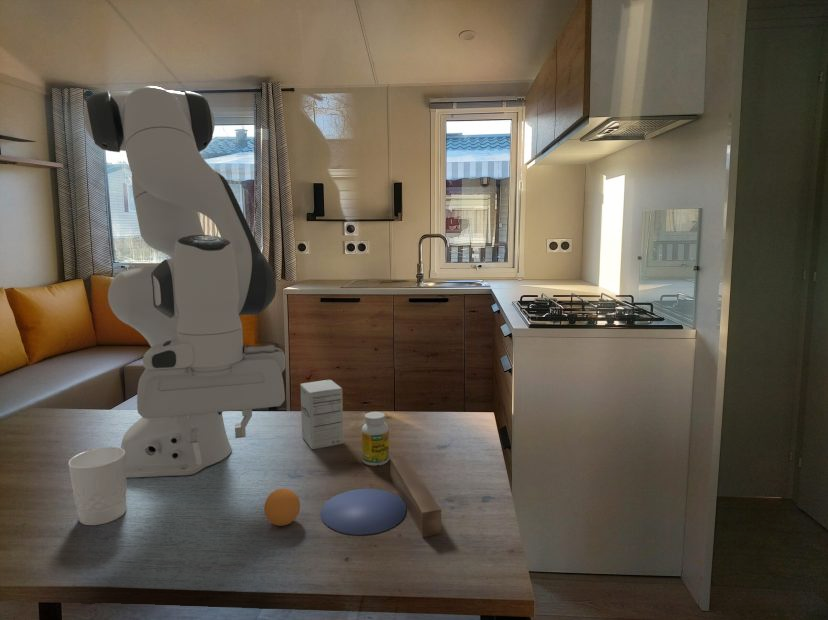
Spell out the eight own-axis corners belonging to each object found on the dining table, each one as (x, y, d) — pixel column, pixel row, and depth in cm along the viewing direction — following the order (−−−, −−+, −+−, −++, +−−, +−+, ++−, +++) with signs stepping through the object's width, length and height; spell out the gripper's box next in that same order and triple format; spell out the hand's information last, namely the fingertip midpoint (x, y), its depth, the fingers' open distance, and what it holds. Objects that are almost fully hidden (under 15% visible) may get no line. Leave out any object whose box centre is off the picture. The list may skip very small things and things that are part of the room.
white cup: (70, 532, 82) (63, 471, 81) (79, 508, 89) (73, 451, 88) (128, 521, 85) (122, 462, 84) (132, 498, 92) (127, 443, 91)
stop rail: (422, 537, 81) (422, 512, 80) (390, 477, 100) (390, 457, 99) (441, 533, 82) (441, 509, 81) (405, 475, 101) (405, 455, 100)
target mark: (326, 541, 80) (326, 540, 80) (316, 496, 93) (316, 495, 93) (416, 526, 84) (416, 525, 84) (394, 485, 97) (394, 484, 97)
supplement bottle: (380, 452, 111) (380, 408, 109) (394, 462, 106) (393, 416, 105) (357, 459, 108) (356, 413, 106) (370, 469, 103) (369, 421, 102)
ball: (265, 535, 81) (263, 501, 81) (264, 516, 87) (263, 484, 86) (302, 529, 83) (300, 496, 82) (299, 511, 88) (298, 480, 87)
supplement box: (301, 438, 119) (299, 382, 117) (333, 432, 122) (332, 378, 120) (310, 450, 112) (308, 392, 110) (344, 443, 115) (343, 387, 113)
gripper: (283, 339, 84) (287, 424, 86) (139, 348, 78) (147, 438, 80) (286, 348, 78) (289, 439, 80) (129, 358, 72) (138, 456, 74)
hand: (217, 439), depth 80 cm, fingers open, 5 cm apart
